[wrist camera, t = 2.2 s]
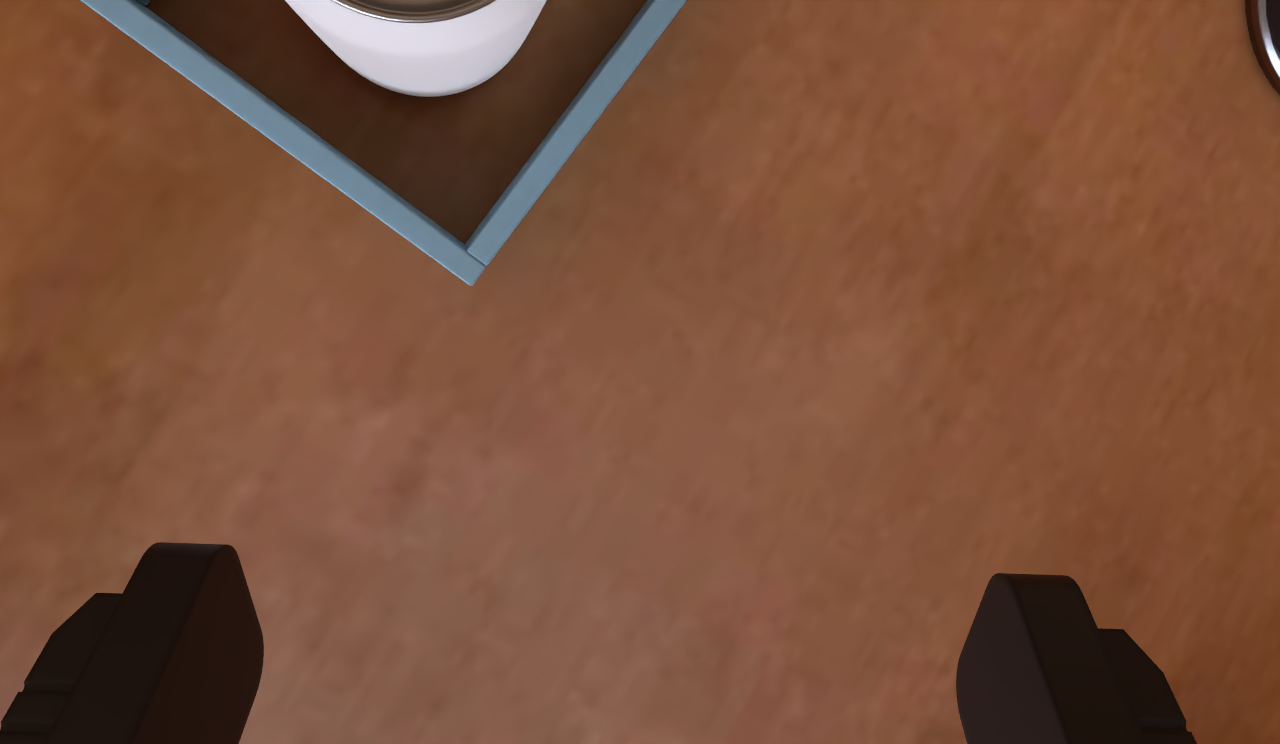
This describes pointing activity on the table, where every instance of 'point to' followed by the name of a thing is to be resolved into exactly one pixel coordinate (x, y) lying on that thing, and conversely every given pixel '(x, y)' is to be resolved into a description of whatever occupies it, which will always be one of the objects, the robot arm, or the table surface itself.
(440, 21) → the can
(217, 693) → the robot arm
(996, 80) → the table surface
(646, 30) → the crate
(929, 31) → the table surface
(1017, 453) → the table surface
